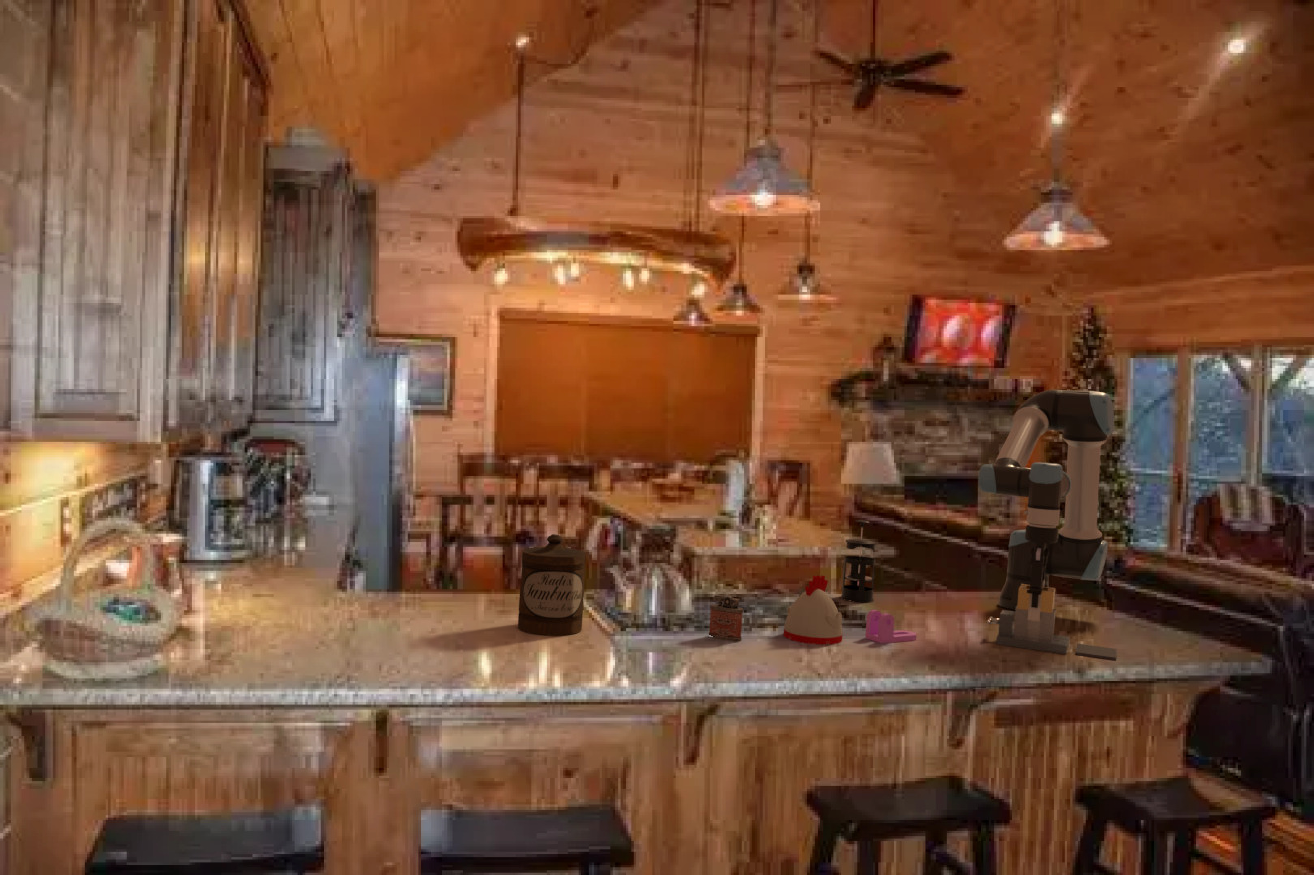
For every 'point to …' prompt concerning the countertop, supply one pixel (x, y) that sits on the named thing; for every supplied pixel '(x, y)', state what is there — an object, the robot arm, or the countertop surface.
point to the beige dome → (814, 616)
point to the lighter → (726, 619)
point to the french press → (858, 571)
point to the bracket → (885, 629)
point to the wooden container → (551, 589)
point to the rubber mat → (1096, 651)
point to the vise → (1029, 631)
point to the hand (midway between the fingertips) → (1034, 617)
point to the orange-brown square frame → (1046, 598)
